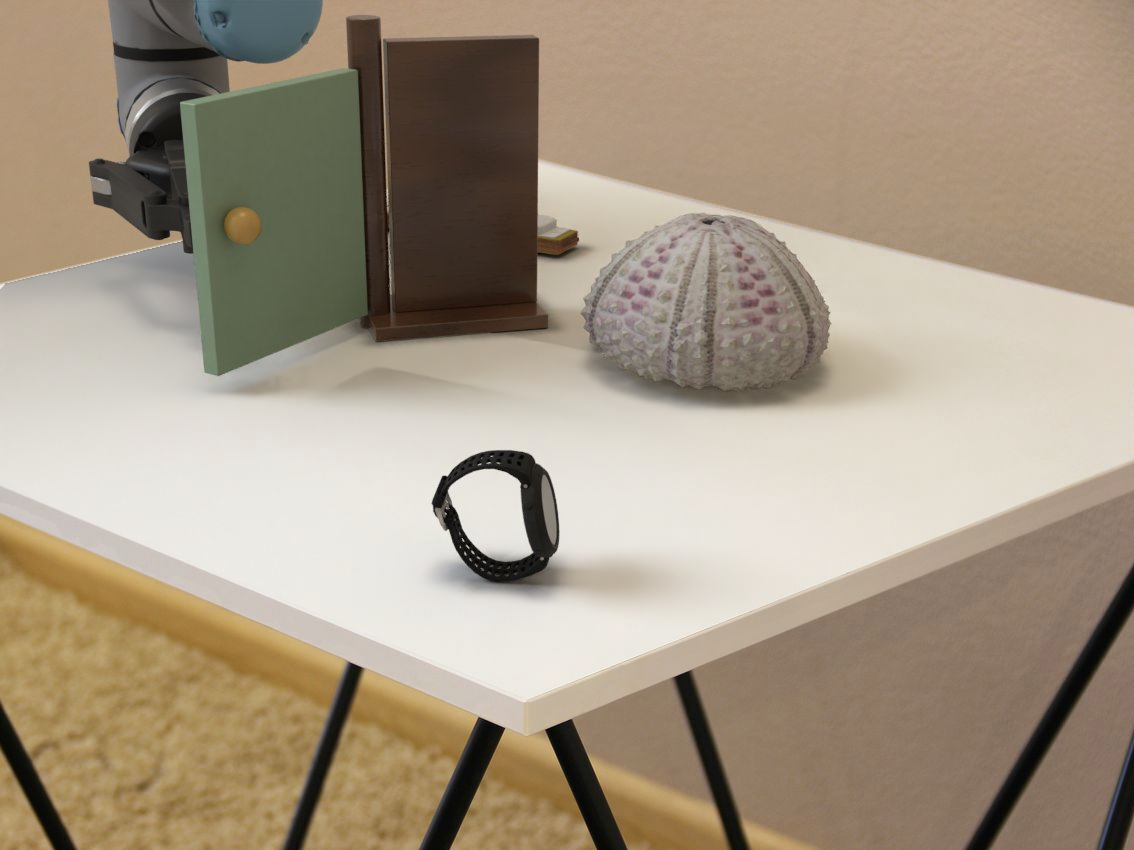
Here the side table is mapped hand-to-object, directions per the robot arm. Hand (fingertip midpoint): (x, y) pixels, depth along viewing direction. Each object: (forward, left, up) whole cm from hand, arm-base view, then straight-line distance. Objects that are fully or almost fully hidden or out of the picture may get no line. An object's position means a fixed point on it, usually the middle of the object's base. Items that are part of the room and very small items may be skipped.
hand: (231, 249), depth 78 cm
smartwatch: (+17, -21, -7) cm, 27 cm away
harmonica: (+9, +27, -7) cm, 29 cm away
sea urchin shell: (+25, +4, -7) cm, 26 cm away
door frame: (+10, +10, -6) cm, 15 cm away
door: (+3, +1, -5) cm, 6 cm away
